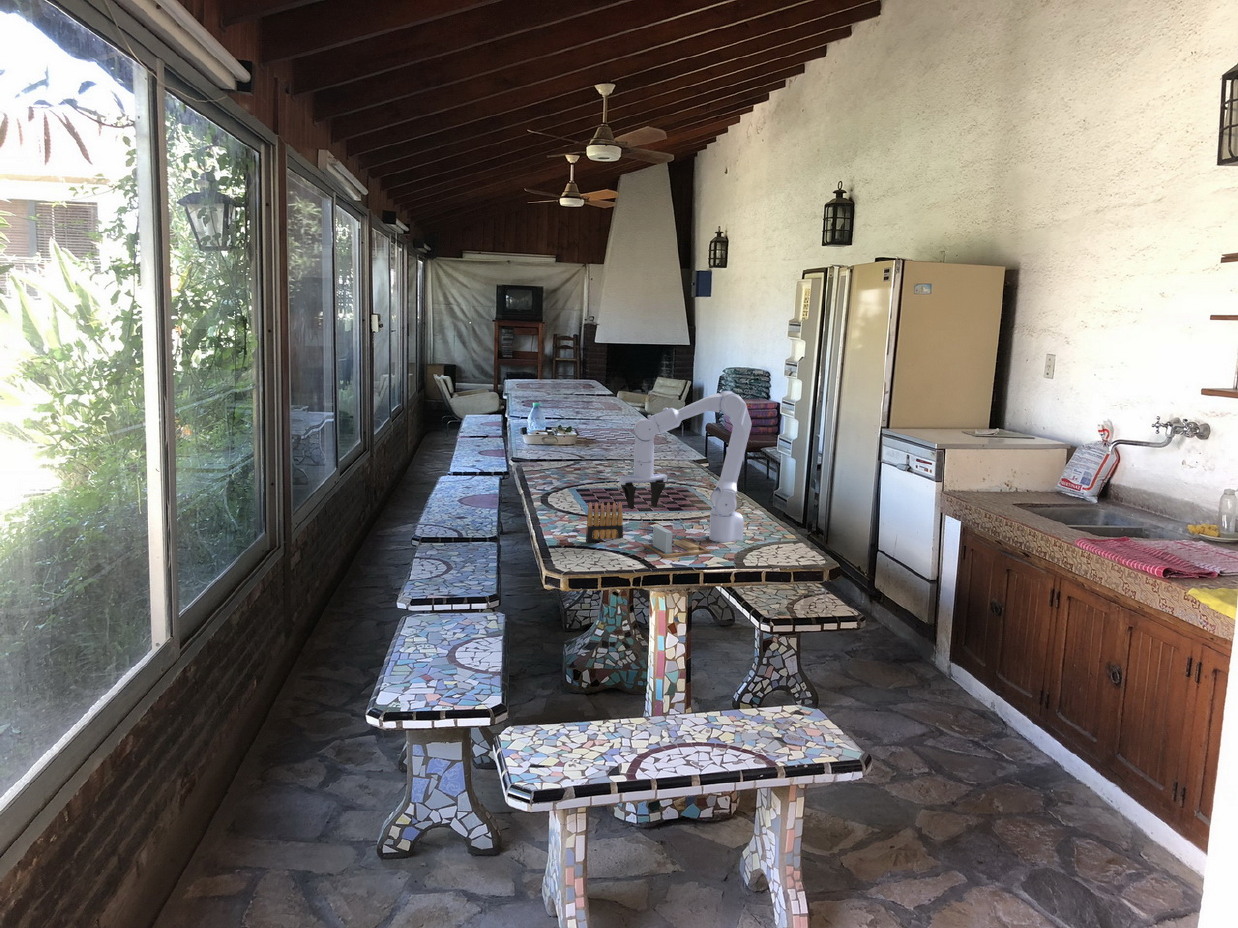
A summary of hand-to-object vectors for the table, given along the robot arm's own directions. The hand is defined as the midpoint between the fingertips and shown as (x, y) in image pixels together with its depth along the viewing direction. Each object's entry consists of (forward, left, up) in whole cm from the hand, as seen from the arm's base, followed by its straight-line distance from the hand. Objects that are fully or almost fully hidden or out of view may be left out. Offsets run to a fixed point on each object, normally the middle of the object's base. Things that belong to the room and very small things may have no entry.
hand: (642, 507), depth 249 cm
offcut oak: (-8, +13, -9) cm, 17 cm away
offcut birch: (-8, +13, -10) cm, 18 cm away
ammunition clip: (+10, -4, -11) cm, 15 cm away
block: (0, +12, -10) cm, 16 cm away
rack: (-4, +13, -10) cm, 17 cm away
